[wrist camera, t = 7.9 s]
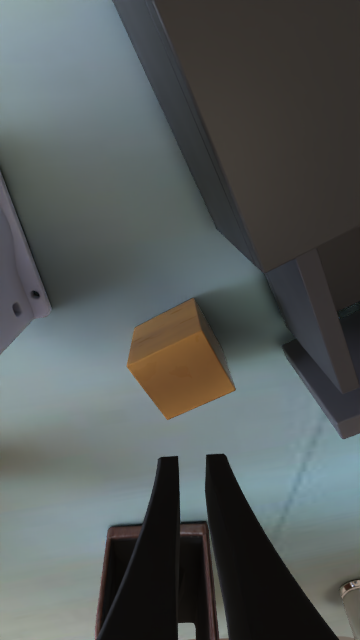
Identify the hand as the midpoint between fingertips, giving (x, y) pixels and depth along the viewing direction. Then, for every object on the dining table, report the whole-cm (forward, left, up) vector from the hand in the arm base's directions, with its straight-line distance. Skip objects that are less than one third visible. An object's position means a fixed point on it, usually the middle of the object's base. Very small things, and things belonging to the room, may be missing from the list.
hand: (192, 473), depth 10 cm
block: (0, 0, -10) cm, 10 cm away
